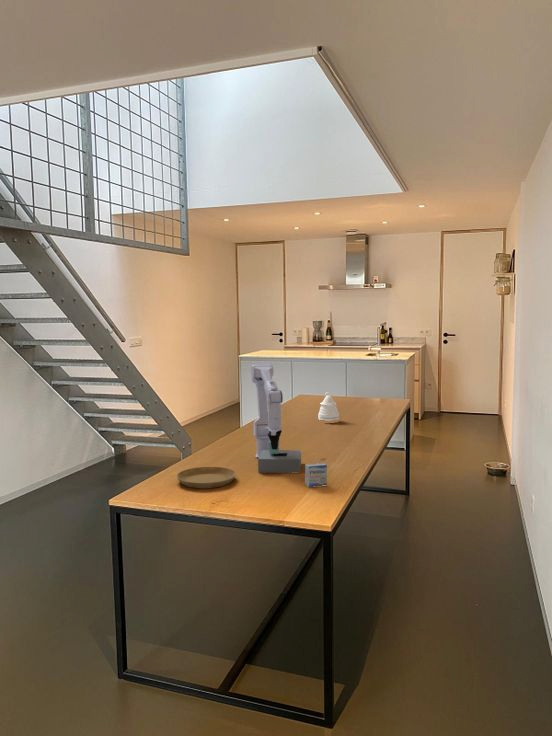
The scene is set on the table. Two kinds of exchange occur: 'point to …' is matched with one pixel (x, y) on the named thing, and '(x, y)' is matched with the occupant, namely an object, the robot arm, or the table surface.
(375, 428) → the table surface
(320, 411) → the honey pot
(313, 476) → the medicine box
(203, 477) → the plant saucer
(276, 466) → the gray slotted box
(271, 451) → the teal rectangular block
